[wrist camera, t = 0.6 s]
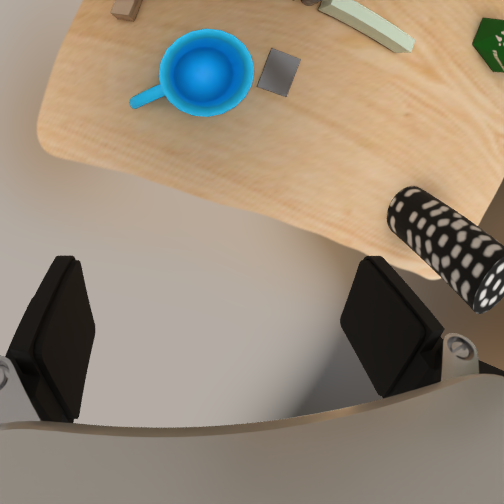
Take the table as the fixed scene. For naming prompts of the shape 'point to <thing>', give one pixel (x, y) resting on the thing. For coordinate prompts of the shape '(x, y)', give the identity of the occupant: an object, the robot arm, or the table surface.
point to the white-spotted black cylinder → (450, 246)
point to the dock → (277, 65)
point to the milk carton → (491, 43)
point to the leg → (369, 24)
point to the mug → (202, 74)
